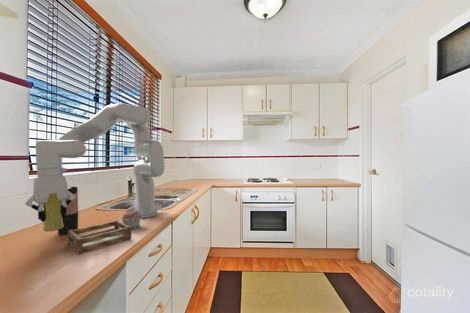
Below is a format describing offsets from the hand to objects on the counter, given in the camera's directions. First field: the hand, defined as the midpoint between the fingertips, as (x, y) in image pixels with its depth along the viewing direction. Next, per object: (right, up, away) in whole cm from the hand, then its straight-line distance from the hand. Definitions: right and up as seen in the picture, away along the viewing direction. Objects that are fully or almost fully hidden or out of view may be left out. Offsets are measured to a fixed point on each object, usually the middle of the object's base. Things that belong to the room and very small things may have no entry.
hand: (52, 218), depth 87 cm
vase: (0, -4, 0) cm, 4 cm away
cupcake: (+21, -10, +20) cm, 31 cm away
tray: (+17, -10, +3) cm, 20 cm away
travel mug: (-5, -10, +14) cm, 18 cm away
